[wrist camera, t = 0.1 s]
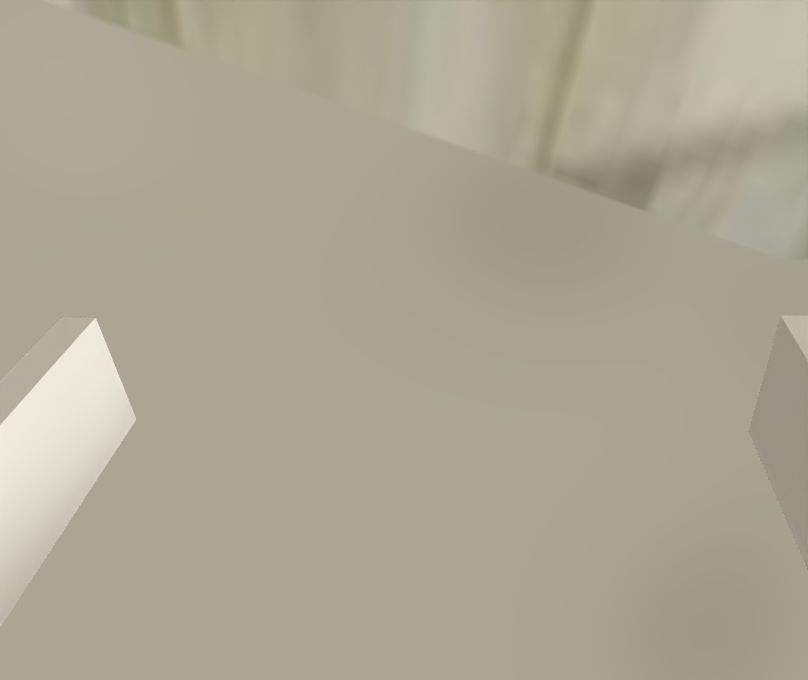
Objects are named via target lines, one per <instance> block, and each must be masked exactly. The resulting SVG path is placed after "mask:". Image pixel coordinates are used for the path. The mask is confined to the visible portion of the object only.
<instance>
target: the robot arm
mask: <svg viewBox="0 0 808 680" xmlns="http://www.w3.org/2000/svg"><path fill="white" fill-rule="evenodd" d="M135 420H136V418H135V415H134V412H133V410H132V408H131V405H130V403H129V400H128V397H127V395H126V393H125V391H124V387H123V385H122V383H121V380H120V378H119V375H118V373H117V370H116V368H115V365H114V363H113V360H112V358H111V355H110V353H109V350H108V348H107V345H106V343H105V340H104V338H103V335H102V333H101V330H100V328H99V325H98V323H97V320H96V318H61V319H60V320H59V321H58V322H57V323H56V324H55V325H54V326H53V327H52V328H51V329H50V330H49V331H48V332H47V333H46V334H45V335H44V336H43V337H42V338H41V339H40V340H39V341H38V342H37V344H36V345H34V347H33V348H32V349H31V350H30V351H29V352H28V353H27V354H26V355H25V356H24V357H23V358H22V359H21V360H20V361H19V362H18V363H17V364H16V365H15V366H14V367H13V368H12V369H11V370H10V372H8V374H7V375H6V376H5V377H4V378H3V379H2V380H1V381H0V627H1V625H2V624H3V622H4V621H5V619H6V618H7V616H8V615H9V613H10V611H11V610H12V608H13V607H14V605H15V604H16V602H17V601H18V599H19V598H20V596H21V595H22V593H23V591H24V590H25V589H26V587H27V585H28V584H29V582H30V581H31V579H32V578H33V576H34V575H35V573H36V572H37V570H38V569H39V567H40V566H41V564H42V562H43V561H44V559H45V558H46V556H47V555H48V553H49V552H50V550H51V549H52V547H53V546H54V544H55V543H56V541H57V540H58V538H59V536H60V535H61V533H62V532H63V530H64V529H65V527H66V526H67V524H68V523H69V521H70V519H71V518H72V517H73V515H74V513H75V512H76V511H77V509H78V507H79V506H80V504H81V503H82V501H83V500H84V498H85V497H86V495H87V494H88V492H89V491H90V489H91V488H92V486H93V485H94V483H95V481H96V480H97V478H98V477H99V475H100V474H101V472H102V471H103V469H104V468H105V466H106V465H107V463H108V462H109V460H110V459H111V457H112V455H113V454H114V452H115V451H116V449H117V448H118V446H119V445H120V443H121V442H122V440H123V439H124V437H125V436H126V434H127V433H128V431H129V429H130V428H131V426H132V425H133V423H134V422H135ZM749 433H750V436H751V438H752V440H753V443H754V445H755V447H756V450H757V452H758V455H759V457H760V459H761V462H762V464H763V466H764V469H765V471H766V473H767V476H768V478H769V480H770V483H771V485H772V487H773V490H774V492H775V494H776V496H777V499H778V501H779V504H780V506H781V508H782V511H783V513H784V515H785V518H786V520H787V522H788V525H789V527H790V529H791V532H792V534H793V536H794V539H795V541H796V543H797V545H798V548H799V550H800V553H801V555H802V557H803V560H804V562H805V564H806V566H807V569H808V316H781V317H780V321H779V324H778V328H777V331H776V335H775V339H774V342H773V346H772V350H771V353H770V356H769V360H768V364H767V368H766V371H765V374H764V378H763V382H762V385H761V389H760V392H759V396H758V400H757V403H756V407H755V410H754V414H753V418H752V421H751V425H750V428H749Z"/></svg>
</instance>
